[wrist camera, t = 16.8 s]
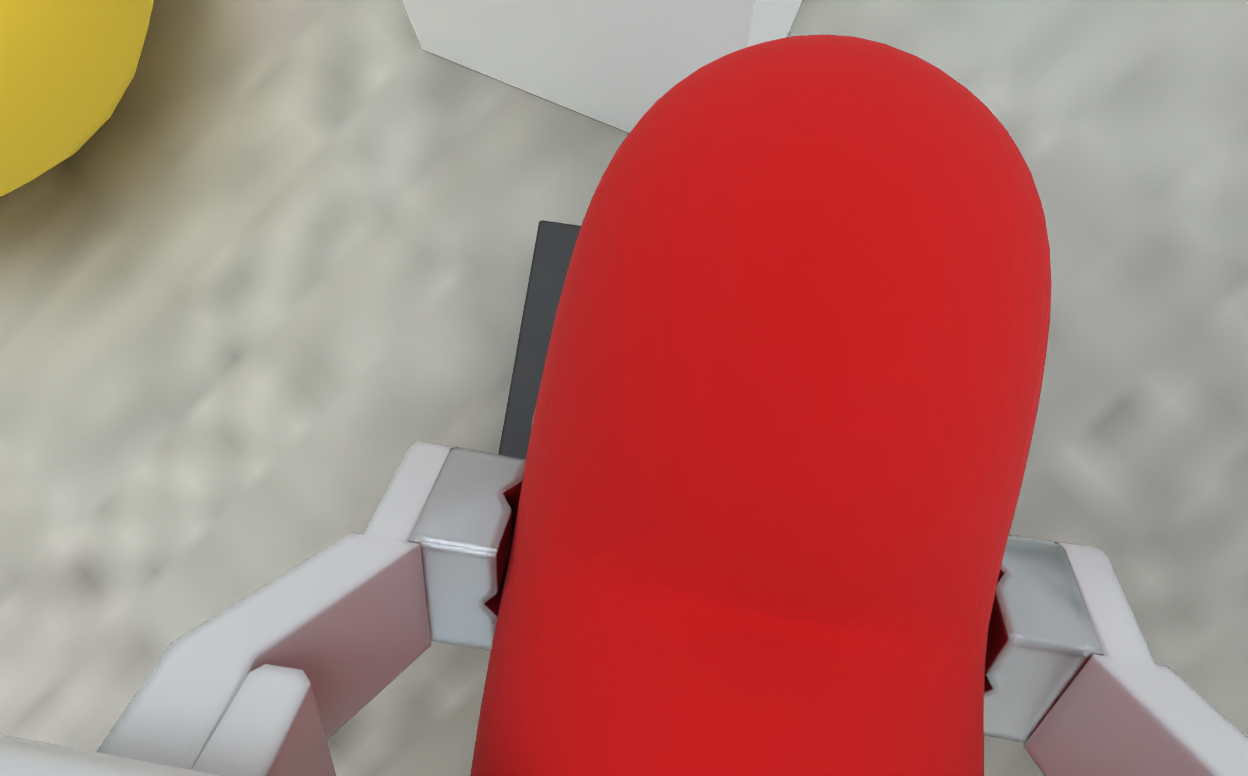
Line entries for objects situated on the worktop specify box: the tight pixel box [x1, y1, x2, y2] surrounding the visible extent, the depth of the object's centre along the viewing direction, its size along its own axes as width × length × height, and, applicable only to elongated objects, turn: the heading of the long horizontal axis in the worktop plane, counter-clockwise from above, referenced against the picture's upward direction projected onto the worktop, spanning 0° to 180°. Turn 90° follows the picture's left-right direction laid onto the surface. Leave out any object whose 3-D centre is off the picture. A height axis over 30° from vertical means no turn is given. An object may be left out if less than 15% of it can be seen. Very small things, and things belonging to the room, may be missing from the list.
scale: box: [498, 221, 581, 460], centre depth 26 cm, size 15×13×3 cm
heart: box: [470, 35, 1051, 776], centre depth 11 cm, size 12×5×10 cm, turn 170°
